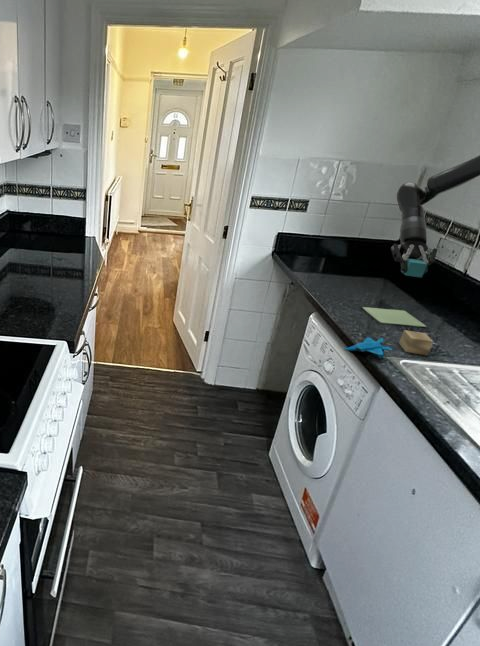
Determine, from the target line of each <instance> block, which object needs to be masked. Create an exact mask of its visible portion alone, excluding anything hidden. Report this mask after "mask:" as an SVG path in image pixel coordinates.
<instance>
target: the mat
mask: <svg viewBox="0 0 480 646" xmlns="http://www.w3.org/2000/svg"><path fill="white" fill-rule="evenodd" d="M361 308H362V309H363V310H364V312H366V313H367V314H368V315H370V316H371V317H372V318H373V319H374V320H375V321H376V322H377V321H378V322H379V323H381V324H382V323H383V324H393V325H403V326H410V327H418V328H427V327H428V326H427V325H425V324H424V323H423V322H421V321H420V320H419V319H417V318H416V317H414V316H413V315H411V314H410V313H409V312H407V311H406V310H401V309H390V308H379V307H365V306H362V307H361Z"/></svg>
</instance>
